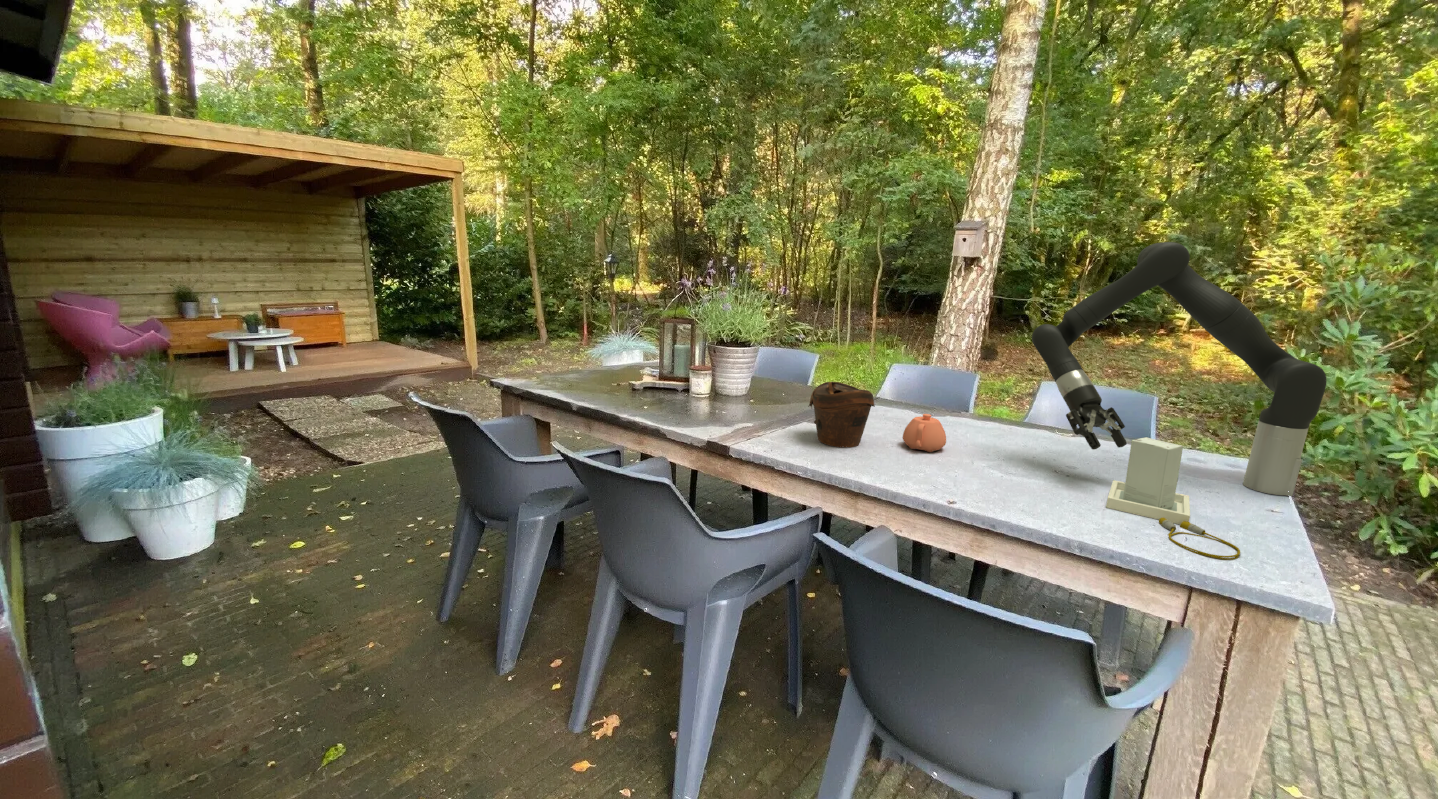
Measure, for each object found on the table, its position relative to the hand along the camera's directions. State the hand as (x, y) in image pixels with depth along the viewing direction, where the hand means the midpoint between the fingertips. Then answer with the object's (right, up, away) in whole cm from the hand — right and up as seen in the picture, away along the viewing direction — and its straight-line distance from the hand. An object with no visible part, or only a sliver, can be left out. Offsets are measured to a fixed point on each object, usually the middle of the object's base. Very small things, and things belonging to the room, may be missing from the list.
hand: (1110, 447), depth 147 cm
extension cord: (+1, -18, -25) cm, 31 cm away
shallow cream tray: (+3, -13, -8) cm, 16 cm away
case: (-60, -1, +34) cm, 69 cm away
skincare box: (+3, -13, -8) cm, 15 cm away
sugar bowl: (-36, -3, +30) cm, 47 cm away
